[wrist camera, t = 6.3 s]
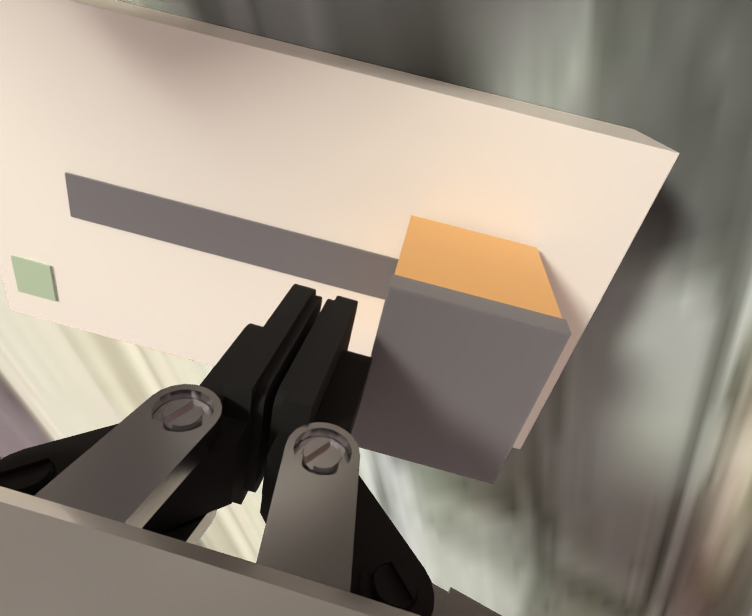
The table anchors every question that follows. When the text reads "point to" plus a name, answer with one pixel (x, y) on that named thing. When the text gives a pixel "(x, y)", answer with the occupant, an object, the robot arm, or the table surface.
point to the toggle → (459, 350)
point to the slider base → (274, 178)
